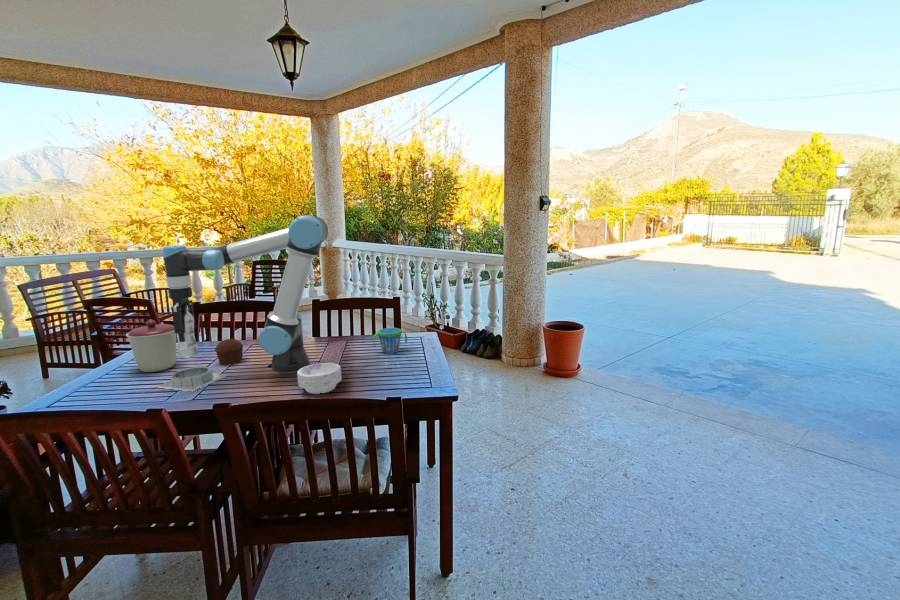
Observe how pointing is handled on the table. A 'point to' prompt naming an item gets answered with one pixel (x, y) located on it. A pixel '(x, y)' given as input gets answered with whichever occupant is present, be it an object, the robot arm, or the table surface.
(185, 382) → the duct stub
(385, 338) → the snack cup
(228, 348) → the muffin
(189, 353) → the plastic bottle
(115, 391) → the table surface
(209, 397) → the table surface
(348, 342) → the table surface
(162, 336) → the canister
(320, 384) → the paper bowls
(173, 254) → the robot arm
